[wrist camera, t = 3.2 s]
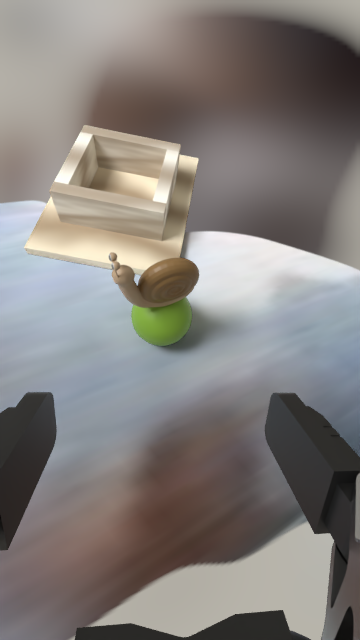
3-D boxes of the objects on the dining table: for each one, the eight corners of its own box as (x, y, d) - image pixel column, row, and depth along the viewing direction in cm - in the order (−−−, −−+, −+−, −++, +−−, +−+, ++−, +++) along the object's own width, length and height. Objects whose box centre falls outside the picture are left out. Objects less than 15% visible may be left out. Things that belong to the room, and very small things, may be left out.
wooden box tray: (175, 281, 30) (180, 251, 26) (27, 253, 30) (6, 217, 25) (197, 165, 39) (203, 127, 35) (84, 142, 39) (76, 101, 34)
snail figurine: (116, 314, 28) (97, 225, 17) (176, 298, 29) (194, 206, 18) (132, 364, 26) (121, 298, 15) (195, 344, 27) (228, 271, 16)
